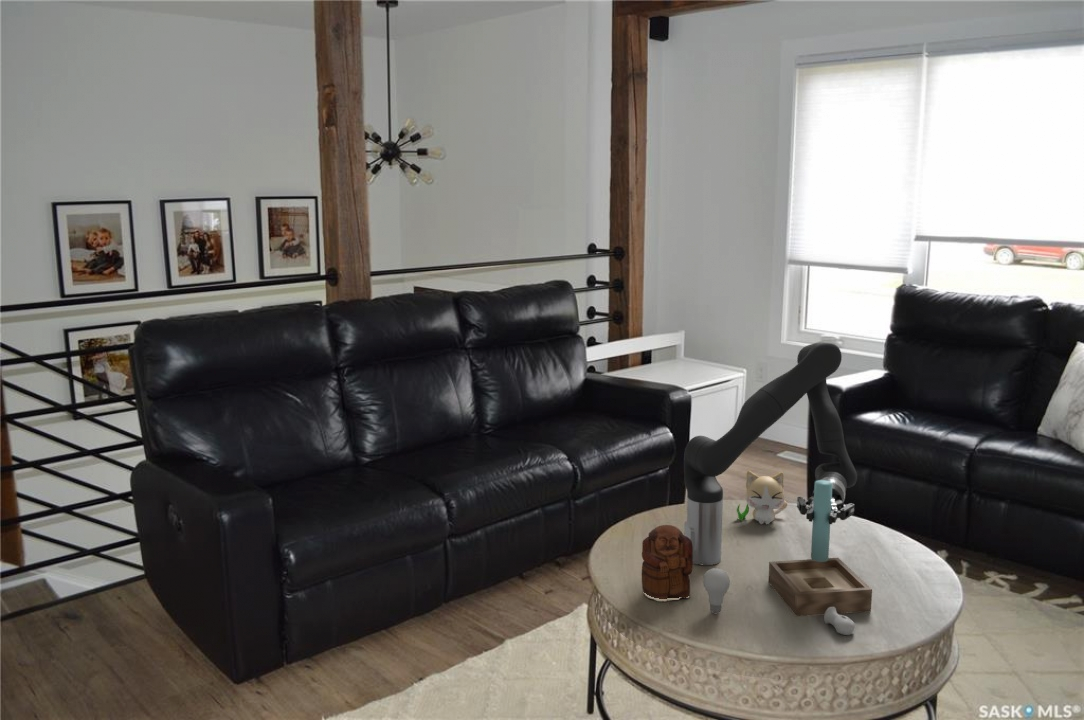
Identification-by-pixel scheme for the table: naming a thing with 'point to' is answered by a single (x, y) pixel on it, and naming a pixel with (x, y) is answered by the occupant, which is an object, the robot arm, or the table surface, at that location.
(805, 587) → the box
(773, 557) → the table surface
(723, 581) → the lightbulb
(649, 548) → the wooden figurine
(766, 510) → the kitten
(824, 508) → the peg
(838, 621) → the pale two-lobed sculpture
